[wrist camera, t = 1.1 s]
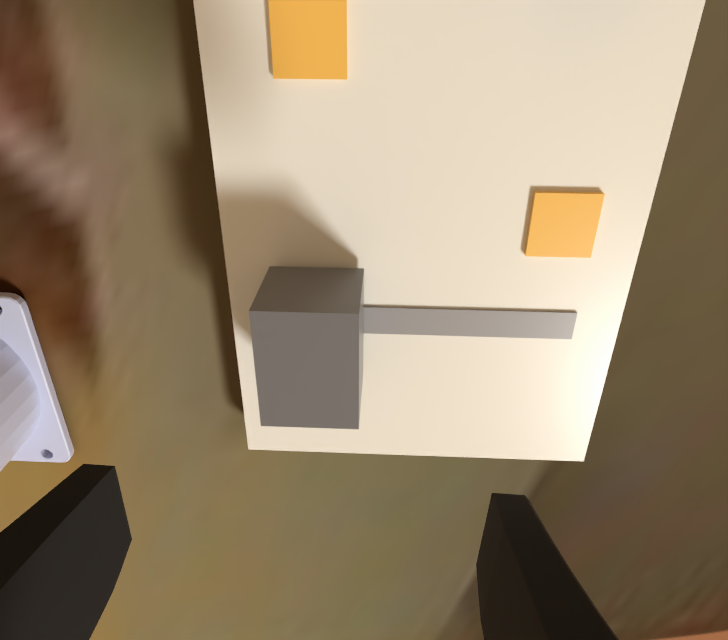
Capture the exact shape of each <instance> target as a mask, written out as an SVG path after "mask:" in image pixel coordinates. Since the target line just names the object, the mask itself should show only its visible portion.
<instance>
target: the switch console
mask: <svg viewBox="0 0 728 640" xmlns="http://www.w3.org/2000/svg"><path fill="white" fill-rule="evenodd" d="M193 3H194V11H195V19H196V27H197V35H198V43H199V52H200V60H201V68H202V76H203V84H204V92H205V100H206V108H207V116H208V125H209V133H210V141H211V149H212V157H213V165H214V173H215V181H216V190H217V198H218V206H219V214H220V222H221V230H222V238H223V246H224V254H225V263H226V271H227V279H228V287H229V295H230V303H231V311H232V319H233V327H234V336H235V344H236V352H237V360H238V368H239V376H240V384H241V392H242V401H243V409H244V417H245V425H246V433H247V441H248V449H254V450H282V451H310V452H338V453H366V454H393V455H421V456H449V457H477V458H505V459H533V460H561V461H584V458H585V454H586V450H587V446H588V443H589V439H590V435H591V431H592V428H593V424H594V420H595V416H596V412H597V409H598V405H599V401H600V397H601V394H602V390H603V386H604V382H605V378H606V375H607V371H608V367H609V363H610V359H611V356H612V352H613V348H614V344H615V341H616V337H617V333H618V329H619V325H620V322H621V318H622V314H623V310H624V307H625V303H626V299H627V295H628V291H629V288H630V284H631V280H632V276H633V272H634V269H635V265H636V261H637V257H638V254H639V250H640V246H641V242H642V238H643V235H644V231H645V227H646V223H647V220H648V216H649V212H650V208H651V204H652V201H653V197H654V193H655V189H656V185H657V182H658V178H659V174H660V170H661V167H662V163H663V159H664V155H665V151H666V148H667V144H668V140H669V136H670V133H671V129H672V125H673V121H674V117H675V114H676V110H677V106H678V102H679V98H680V95H681V91H682V87H683V83H684V80H685V76H686V72H687V68H688V64H689V61H690V57H691V53H692V49H693V46H694V42H695V38H696V34H697V30H698V27H699V23H700V19H701V15H702V11H703V8H704V4H705V0H193ZM270 266H283V267H324V268H364V337H363V382H362V395H361V408H360V420H359V429H332V428H303V427H274V426H261V423H260V413H259V404H258V394H257V385H256V376H255V366H254V357H253V347H252V338H251V329H250V319H249V309H250V307H251V305H252V303H253V301H254V298H255V296H256V294H257V292H258V290H259V288H260V286H261V284H262V281H263V279H264V277H265V275H266V273H267V271H268V269H269V267H270Z"/></svg>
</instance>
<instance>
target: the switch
mask: <svg viewBox="0 0 728 640" xmlns="http://www.w3.org/2000/svg"><path fill="white" fill-rule="evenodd" d="M249 319H250V329H251V338H252V347H253V357H254V366H255V376H256V385H257V394H258V404H259V413H260V423H261V426H274V427H303V428H332V429H359V420H360V408H361V395H362V382H363V337H364V268H324V267H283V266H270V267H269V269H268V271H267V273H266V275H265V277H264V279H263V281H262V284H261V286H260V288H259V290H258V292H257V294H256V296H255V298H254V301H253V303H252V305H251V307H250V309H249Z"/></svg>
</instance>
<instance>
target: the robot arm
mask: <svg viewBox="0 0 728 640" xmlns="http://www.w3.org/2000/svg"><path fill="white" fill-rule="evenodd" d="M0 306H1V308H2V310H1V309H0V471H1V470H2V469H3V468H4V467H5V465H6V464H7V463H8V462H9V461H37V462H67V461H68V460H70V458H71V457H72V455H73V454H74V448H73V445H72V442H71V439H70V436H69V433H68V430H67V427H66V423H65V420H64V417H63V414H62V411H61V408H60V405H59V402H58V399H57V396H56V392H55V389H54V386H53V383H52V380H51V377H50V374H49V371H48V368H47V365H46V362H45V358H44V355H43V352H42V349H41V346H40V343H39V340H38V337H37V334H36V331H35V328H34V324H33V321H32V318H31V315H30V312H29V309H28V306H27V304H26V302H25V300H24V299H23V298H22V297H21V296H19V295H17V294H14V293H2V292H0ZM48 450H49V451H48ZM50 451H51V452H50ZM131 540H132V538H131V534H130V529H129V525H128V521H127V516H126V512H125V508H124V503H123V499H122V495H121V491H120V486H119V482H118V478H117V473H116V469H115V466H105V465H91V464H83V465H82V466H80V467H79V468H78V469H77V470H75V471H74V472H73V473H72V474H71V475H69V476H68V477H67V478H66V479H64V480H63V481H62V482H61V483H60V484H58V485H57V486H56V487H55V488H54V489H52V490H51V491H50V492H49V493H48V494H46V495H45V496H44V497H43V498H42V499H40V500H39V501H38V502H37V503H36V504H34V505H33V506H32V507H31V508H30V509H28V510H27V511H26V512H25V513H24V514H22V515H21V516H20V517H19V518H18V519H16V520H15V521H14V522H13V523H11V524H10V525H9V526H8V527H7V528H5V529H4V530H3V531H2V532H0V640H89V639H90V637H91V635H92V633H93V631H94V629H95V627H96V625H97V623H98V621H99V619H100V617H101V615H102V613H103V611H104V609H105V607H106V605H107V602H108V600H109V598H110V596H111V594H112V592H113V589H114V587H115V584H116V582H117V579H118V576H119V574H120V571H121V568H122V566H123V563H124V560H125V557H126V554H127V551H128V548H129V546H130V543H131ZM476 566H477V580H478V594H479V605H480V616H481V624H482V630H483V635H484V640H619V639H618V638H617V637H616V635H615V634H614V633H613V631H612V630H611V628H610V627H609V626H608V624H607V623H606V621H605V620H604V619H603V617H602V616H601V614H600V613H599V611H598V610H597V609H596V607H595V606H594V604H593V603H592V601H591V600H590V598H589V597H588V595H587V594H586V592H585V591H584V589H583V588H582V586H581V585H580V583H579V582H578V580H577V579H576V577H575V576H574V574H573V573H572V571H571V570H570V568H569V566H568V565H567V563H566V562H565V560H564V558H563V557H562V555H561V554H560V552H559V550H558V549H557V547H556V546H555V544H554V542H553V541H552V539H551V537H550V536H549V534H548V532H547V531H546V529H545V527H544V526H543V524H542V522H541V520H540V519H539V517H538V515H537V513H536V512H535V510H534V508H533V506H532V505H531V503H530V501H529V500H528V499H527V497H526V496H525V495H513V494H499V493H492V495H491V500H490V505H489V509H488V514H487V518H486V523H485V527H484V532H483V536H482V541H481V546H480V550H479V555H478V559H477V564H476Z"/></svg>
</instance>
